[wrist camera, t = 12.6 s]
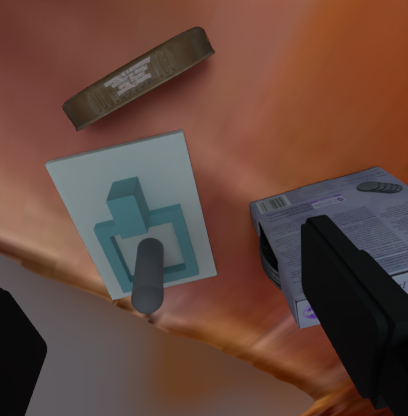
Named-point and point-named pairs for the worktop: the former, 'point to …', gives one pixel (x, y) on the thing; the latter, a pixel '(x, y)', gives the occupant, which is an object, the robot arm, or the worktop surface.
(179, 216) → the link
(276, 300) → the worktop surface
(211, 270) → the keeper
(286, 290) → the cake pan box
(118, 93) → the tin
